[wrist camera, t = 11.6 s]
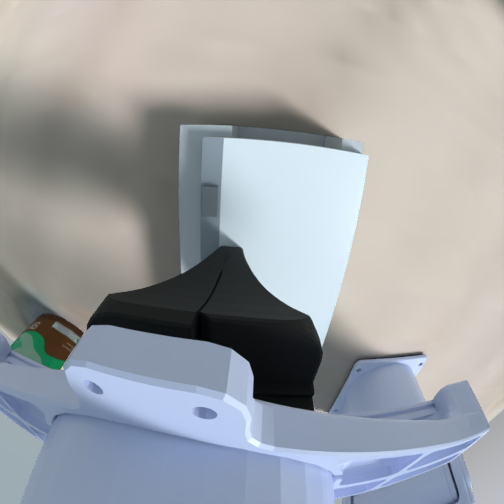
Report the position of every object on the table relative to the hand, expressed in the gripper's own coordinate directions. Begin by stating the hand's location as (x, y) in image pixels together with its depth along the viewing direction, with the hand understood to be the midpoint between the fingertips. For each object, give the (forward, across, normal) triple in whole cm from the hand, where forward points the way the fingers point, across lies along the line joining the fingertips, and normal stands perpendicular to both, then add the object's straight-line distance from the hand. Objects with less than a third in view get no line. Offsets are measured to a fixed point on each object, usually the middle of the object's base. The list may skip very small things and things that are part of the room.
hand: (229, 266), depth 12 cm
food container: (+5, +20, +12) cm, 24 cm away
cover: (+1, -2, +1) cm, 2 cm away
